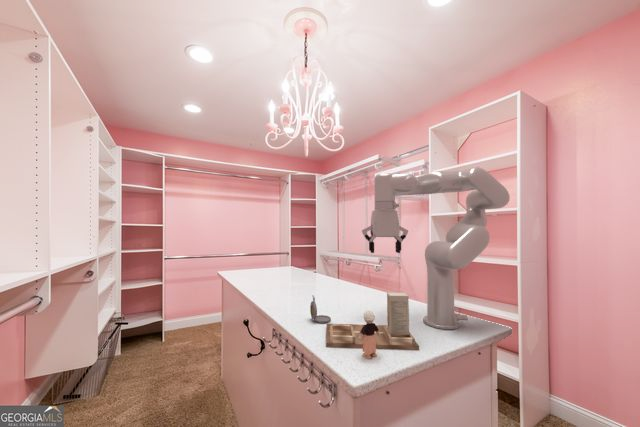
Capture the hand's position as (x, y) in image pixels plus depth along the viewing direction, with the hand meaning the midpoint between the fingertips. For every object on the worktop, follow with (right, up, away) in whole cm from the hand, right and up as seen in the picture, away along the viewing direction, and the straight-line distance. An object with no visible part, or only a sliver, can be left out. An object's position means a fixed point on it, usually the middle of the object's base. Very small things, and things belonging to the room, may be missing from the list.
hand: (385, 252), depth 98 cm
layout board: (-8, -27, -11) cm, 30 cm away
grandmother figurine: (-10, -26, -23) cm, 37 cm away
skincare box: (+1, -24, -14) cm, 27 cm away
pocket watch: (-25, -27, +4) cm, 37 cm away
